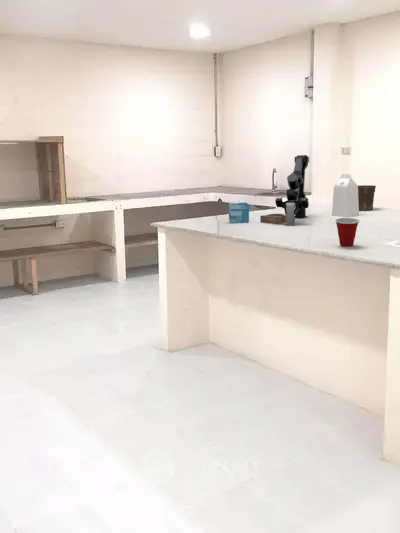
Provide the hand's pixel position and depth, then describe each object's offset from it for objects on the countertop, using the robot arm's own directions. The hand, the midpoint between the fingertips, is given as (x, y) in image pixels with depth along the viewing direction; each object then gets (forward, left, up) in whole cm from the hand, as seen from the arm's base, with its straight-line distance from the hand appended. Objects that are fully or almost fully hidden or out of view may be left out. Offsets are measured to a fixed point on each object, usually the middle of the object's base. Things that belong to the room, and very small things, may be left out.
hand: (290, 214), depth 326 cm
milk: (-52, -1, -7) cm, 53 cm away
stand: (-6, -17, -7) cm, 19 cm away
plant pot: (-82, -9, -7) cm, 83 cm away
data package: (+9, -34, -7) cm, 35 cm away
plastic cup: (+32, +63, -7) cm, 71 cm away
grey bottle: (-1, -1, -7) cm, 7 cm away
